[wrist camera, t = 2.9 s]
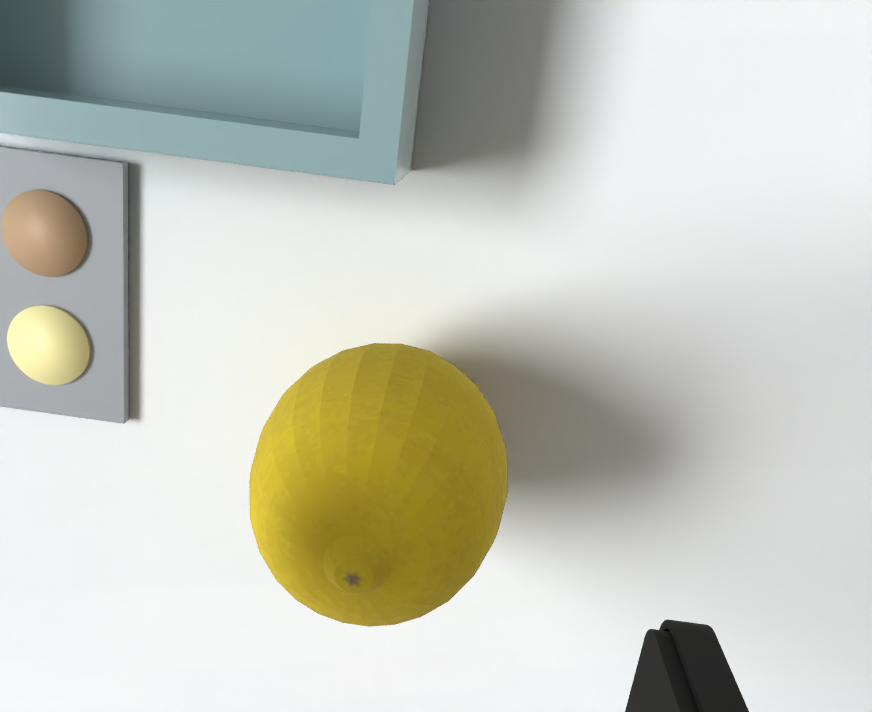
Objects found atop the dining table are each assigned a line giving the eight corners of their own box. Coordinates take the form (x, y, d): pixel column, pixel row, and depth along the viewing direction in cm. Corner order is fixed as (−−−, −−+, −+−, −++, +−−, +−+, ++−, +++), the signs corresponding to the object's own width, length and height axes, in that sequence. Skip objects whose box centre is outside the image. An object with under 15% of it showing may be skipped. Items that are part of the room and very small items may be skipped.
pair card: (128, 162, 19) (120, 163, 19) (128, 419, 21) (122, 425, 21) (-29, 142, 19) (-40, 142, 19) (-12, 400, 21) (-22, 405, 21)
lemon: (258, 399, 21) (130, 565, 13) (404, 263, 20) (353, 363, 12) (399, 533, 22) (353, 758, 14) (546, 413, 21) (583, 593, 13)
